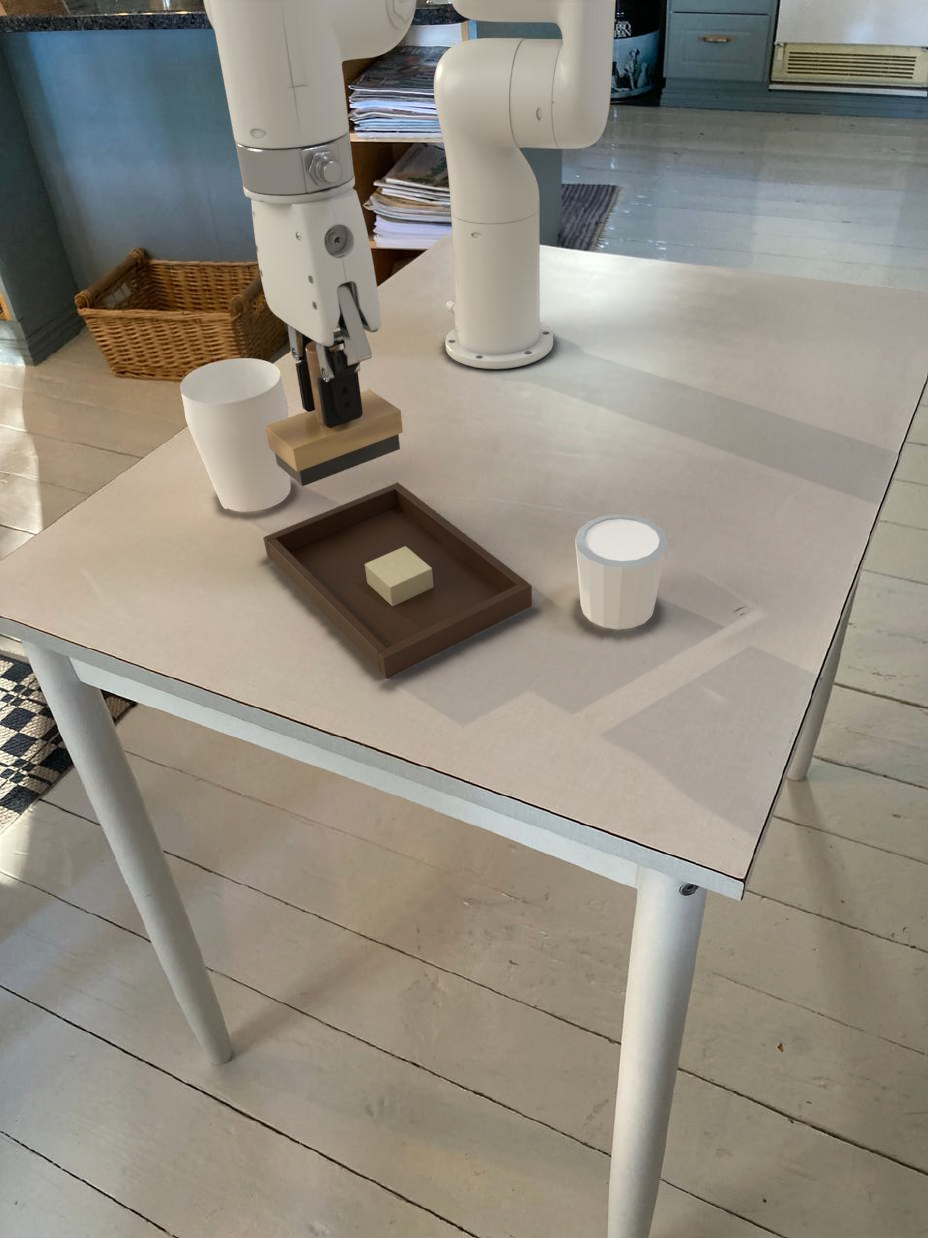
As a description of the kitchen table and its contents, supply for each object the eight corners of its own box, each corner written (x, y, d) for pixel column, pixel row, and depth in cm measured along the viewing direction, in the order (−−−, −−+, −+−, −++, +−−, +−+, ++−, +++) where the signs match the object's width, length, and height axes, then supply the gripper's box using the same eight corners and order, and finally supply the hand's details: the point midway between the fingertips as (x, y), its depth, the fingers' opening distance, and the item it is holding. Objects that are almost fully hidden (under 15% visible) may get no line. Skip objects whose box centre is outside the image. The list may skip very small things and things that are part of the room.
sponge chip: (366, 583, 82) (364, 563, 81) (407, 564, 84) (405, 545, 82) (392, 607, 79) (390, 587, 78) (434, 587, 81) (432, 567, 80)
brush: (272, 464, 80) (250, 353, 74) (374, 427, 84) (361, 318, 78) (300, 489, 77) (279, 374, 71) (404, 448, 81) (393, 337, 75)
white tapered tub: (676, 627, 76) (684, 554, 72) (593, 648, 75) (596, 574, 71) (639, 576, 82) (644, 505, 77) (560, 595, 80) (561, 523, 76)
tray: (268, 561, 86) (262, 537, 84) (400, 505, 92) (397, 481, 90) (387, 684, 73) (383, 658, 72) (532, 611, 79) (531, 585, 77)
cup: (305, 516, 91) (283, 397, 84) (206, 529, 90) (174, 410, 83) (301, 466, 98) (281, 351, 90) (209, 478, 97) (180, 363, 90)
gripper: (409, 177, 63) (429, 437, 74) (290, 132, 73) (324, 365, 85) (303, 203, 60) (342, 470, 71) (195, 152, 70) (245, 392, 82)
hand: (332, 411), depth 78 cm, fingers closed on brush, 2 cm apart
